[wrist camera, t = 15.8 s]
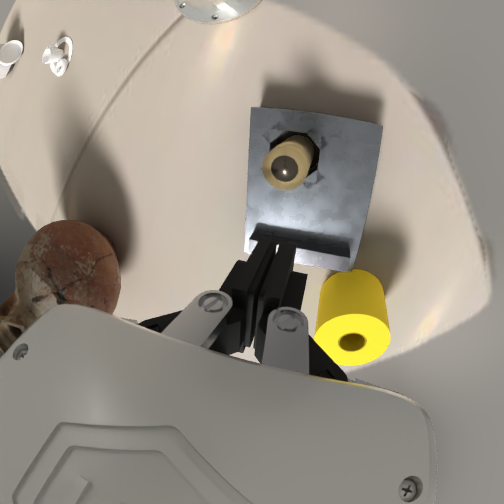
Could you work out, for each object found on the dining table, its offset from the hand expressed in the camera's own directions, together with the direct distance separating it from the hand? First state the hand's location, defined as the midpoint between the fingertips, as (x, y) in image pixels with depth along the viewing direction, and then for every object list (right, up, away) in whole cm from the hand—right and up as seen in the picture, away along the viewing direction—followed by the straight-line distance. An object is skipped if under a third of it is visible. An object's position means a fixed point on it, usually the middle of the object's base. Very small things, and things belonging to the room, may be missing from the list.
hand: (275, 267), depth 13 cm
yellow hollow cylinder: (+14, -6, +27) cm, 31 cm away
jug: (-32, +1, +38) cm, 50 cm away
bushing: (+4, +13, +18) cm, 23 cm away
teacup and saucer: (-39, +36, +19) cm, 56 cm away
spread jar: (-60, +49, +18) cm, 79 cm away
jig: (+6, +9, +20) cm, 23 cm away
